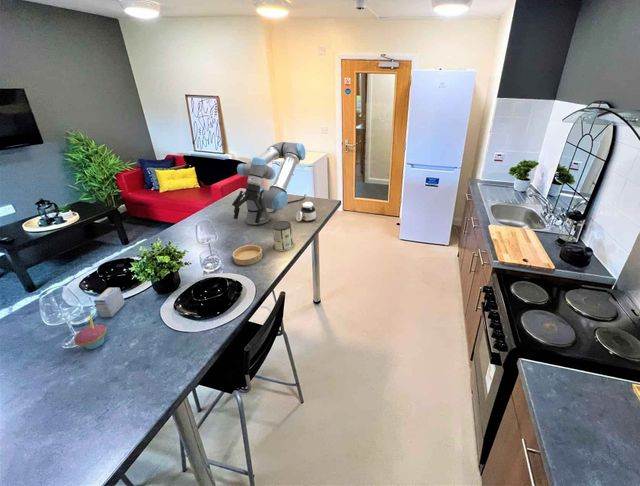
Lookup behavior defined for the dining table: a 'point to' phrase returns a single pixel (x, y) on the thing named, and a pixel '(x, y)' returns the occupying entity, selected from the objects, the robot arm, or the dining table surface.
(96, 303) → the medicine box
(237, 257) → the round tan tray
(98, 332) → the cupcake
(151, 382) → the dining table surface
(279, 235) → the coffee can
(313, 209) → the spread jar
